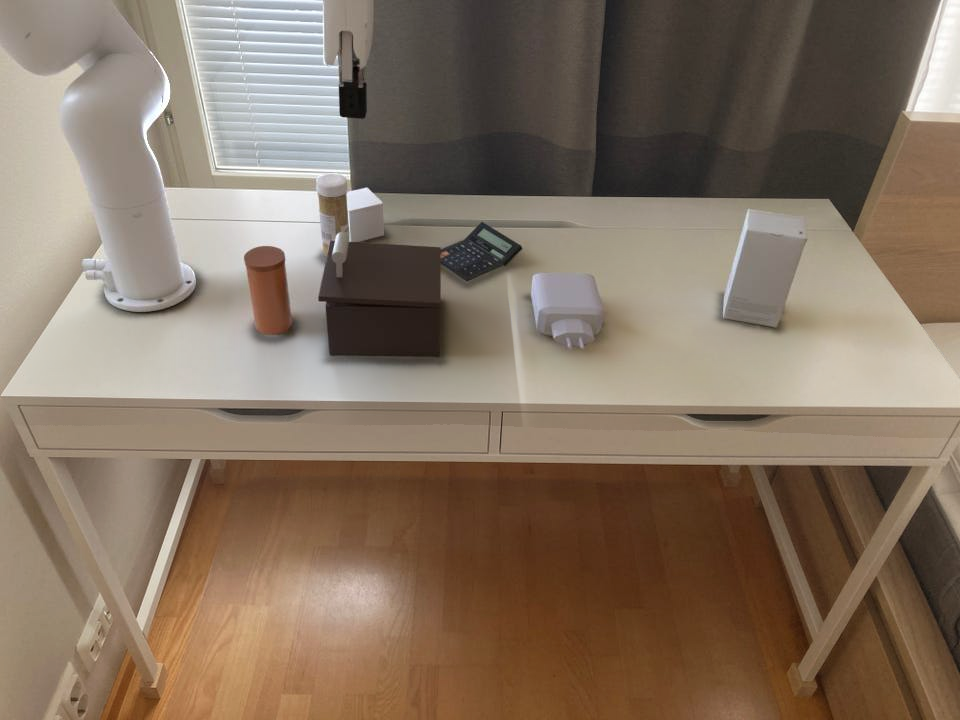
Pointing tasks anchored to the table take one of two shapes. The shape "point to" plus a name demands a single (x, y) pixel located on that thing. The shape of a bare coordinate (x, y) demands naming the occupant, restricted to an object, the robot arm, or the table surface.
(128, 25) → the robot arm
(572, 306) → the charger
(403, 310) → the dark wooden planter box
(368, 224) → the white cube
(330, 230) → the sprinkles bottle
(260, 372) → the table surface
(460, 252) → the calculator
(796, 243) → the cosmetic box
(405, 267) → the lid
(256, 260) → the tin
